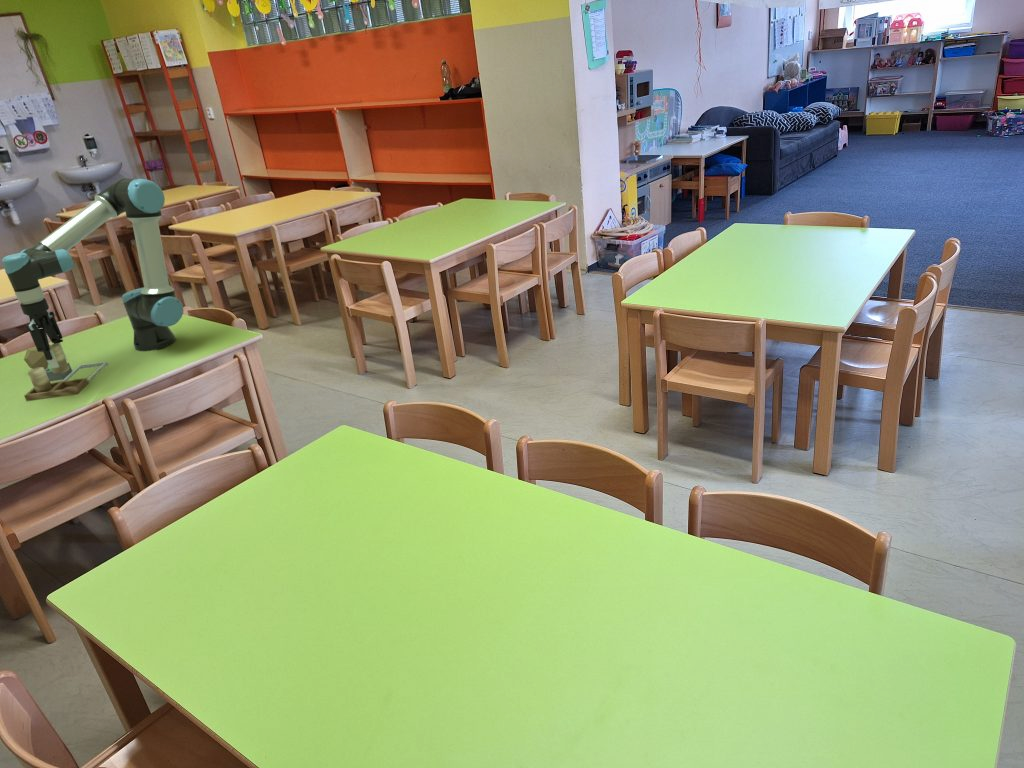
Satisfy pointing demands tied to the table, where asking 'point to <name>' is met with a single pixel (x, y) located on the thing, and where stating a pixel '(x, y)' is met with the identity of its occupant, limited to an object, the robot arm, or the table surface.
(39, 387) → the billet
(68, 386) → the wooden divided tray
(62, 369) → the billet
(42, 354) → the low-poly potato
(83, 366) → the grey-green angled strip
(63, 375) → the console
